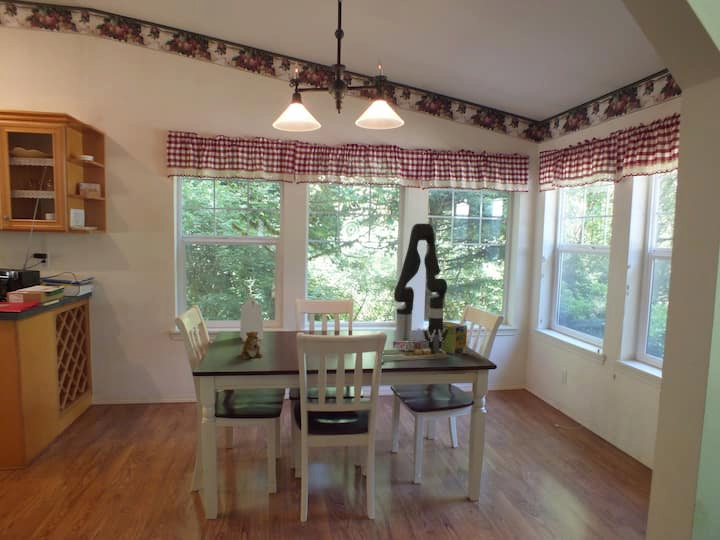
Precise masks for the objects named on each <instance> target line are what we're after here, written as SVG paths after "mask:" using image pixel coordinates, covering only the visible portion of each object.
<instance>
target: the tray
mask: <svg viewBox="0 0 720 540" xmlns="http://www.w3.org/2000/svg"><path fill="white" fill-rule="evenodd" d="M404 356H405V355H404V354H401V355H398V349H393V348H386V349H385V350H384V355H383V363H384V364H385V363H386V362H388V361H389V362H390V361H405V360H404ZM383 363H382V364H383Z"/></svg>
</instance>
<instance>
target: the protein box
mask: <svg viewBox="0 0 720 540" xmlns="http://www.w3.org/2000/svg"><path fill="white" fill-rule="evenodd" d="M443 328H444V329H445V328H446V329H447V330H448V332H447V335H446V338H445V340H442V342H441V347H440V348H439V349H442V350H443V351H445V352H446V353H448V354H453V355H457V354H460V355H464V354H466V353H467V343H468V342H467V340H468V339H467V336H468V325H466V324H461V323H456V322H452V321H445V320H444V321H443ZM442 334H443V331H442V332H441V337H442Z"/></svg>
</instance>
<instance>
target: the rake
mask: <svg viewBox="0 0 720 540" xmlns="http://www.w3.org/2000/svg"><path fill="white" fill-rule="evenodd" d="M432 342H433V343H432V349H431V348H430V350H431V354H432V355H433V354H438V352H439V335H434V338H433V340H432Z"/></svg>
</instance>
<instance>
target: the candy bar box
mask: <svg viewBox="0 0 720 540" xmlns="http://www.w3.org/2000/svg"><path fill="white" fill-rule="evenodd" d="M392 347H393V348H392V349H398V351H412V350H413V349H420V350H421V349H429V341H427V340H420V339H419V340H417V339H416V340H415V339H414V340H413V339H411V340H410V341H396V340H395V341H392Z"/></svg>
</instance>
